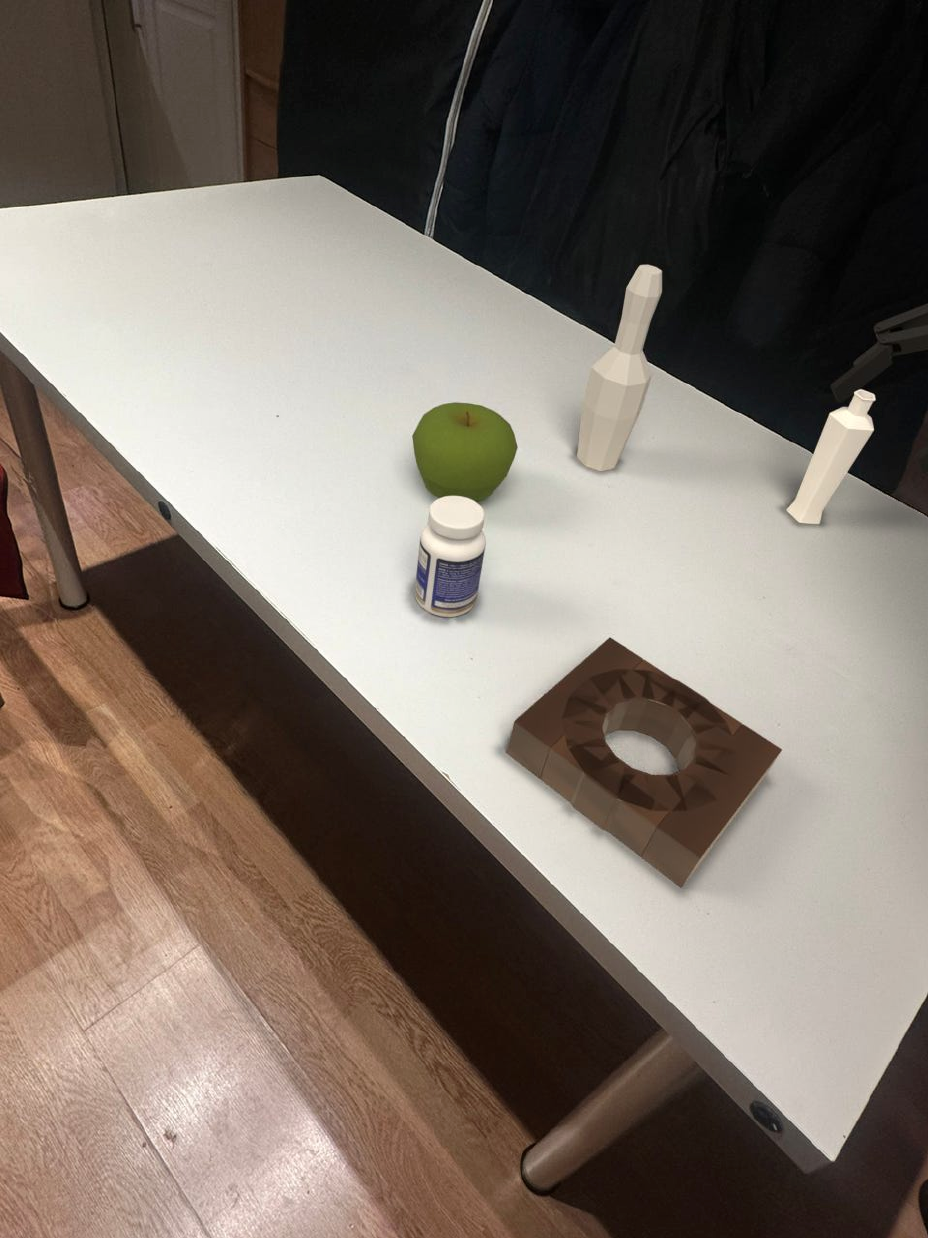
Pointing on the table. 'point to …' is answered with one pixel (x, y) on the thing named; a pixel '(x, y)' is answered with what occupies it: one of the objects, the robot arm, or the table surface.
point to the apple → (463, 450)
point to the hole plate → (629, 798)
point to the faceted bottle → (619, 377)
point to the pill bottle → (450, 556)
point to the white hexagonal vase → (833, 457)
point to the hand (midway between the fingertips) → (874, 428)
